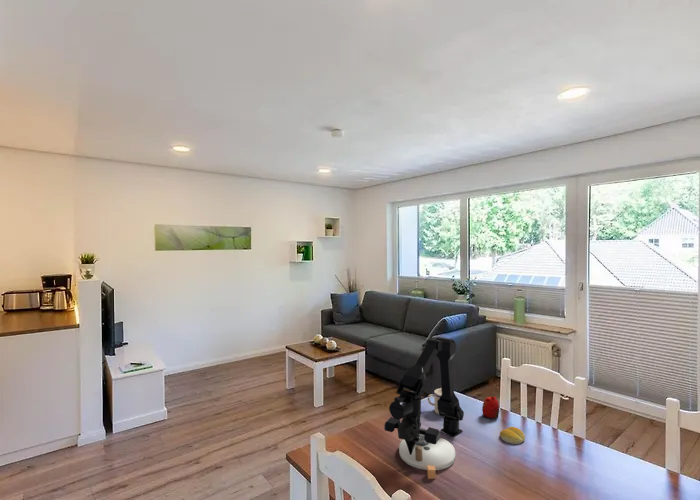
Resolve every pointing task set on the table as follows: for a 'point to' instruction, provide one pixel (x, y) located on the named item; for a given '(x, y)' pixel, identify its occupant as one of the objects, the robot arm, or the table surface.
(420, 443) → the cover
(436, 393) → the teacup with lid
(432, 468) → the pointer block
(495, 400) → the red clay folk toy
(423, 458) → the turntable
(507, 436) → the bread roll
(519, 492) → the table surface
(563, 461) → the table surface
